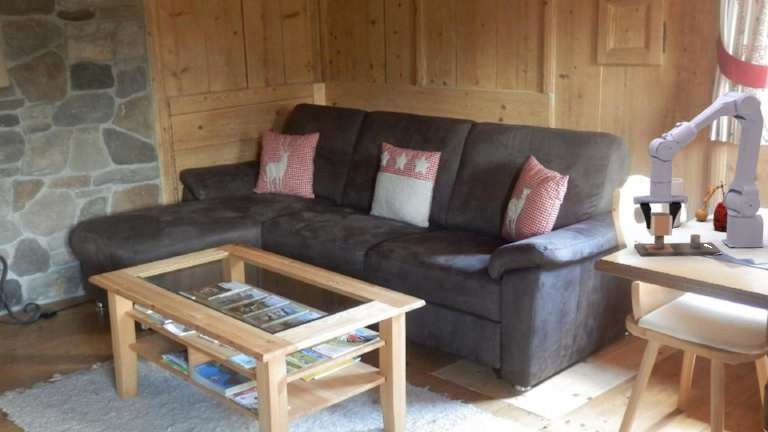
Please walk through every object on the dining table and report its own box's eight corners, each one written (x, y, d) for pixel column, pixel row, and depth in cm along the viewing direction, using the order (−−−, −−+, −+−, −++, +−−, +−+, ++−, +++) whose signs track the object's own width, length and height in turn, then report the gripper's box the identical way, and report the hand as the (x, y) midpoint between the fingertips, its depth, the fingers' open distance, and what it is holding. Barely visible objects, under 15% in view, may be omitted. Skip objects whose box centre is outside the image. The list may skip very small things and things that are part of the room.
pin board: (711, 245, 247) (712, 230, 246) (721, 255, 237) (722, 239, 236) (634, 247, 249) (634, 232, 248) (640, 256, 240) (641, 240, 239)
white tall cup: (683, 228, 268) (685, 181, 265) (660, 228, 269) (662, 181, 266) (680, 223, 274) (682, 177, 271) (658, 223, 276) (659, 177, 272)
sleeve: (671, 235, 240) (672, 216, 238) (651, 235, 240) (651, 216, 239) (667, 230, 245) (667, 212, 244) (647, 230, 246) (647, 212, 244)
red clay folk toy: (720, 233, 260) (723, 185, 257) (707, 228, 267) (709, 181, 264) (742, 231, 262) (745, 183, 259) (728, 226, 269) (731, 179, 265)
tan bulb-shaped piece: (695, 217, 281) (696, 181, 279) (715, 218, 279) (716, 182, 276) (694, 223, 274) (695, 186, 271) (714, 224, 272) (715, 187, 269)
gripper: (684, 178, 242) (682, 224, 245) (631, 179, 244) (630, 225, 247) (690, 182, 236) (688, 230, 239) (636, 184, 237) (635, 231, 240)
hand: (659, 228), depth 242 cm, fingers closed on sleeve, 6 cm apart
